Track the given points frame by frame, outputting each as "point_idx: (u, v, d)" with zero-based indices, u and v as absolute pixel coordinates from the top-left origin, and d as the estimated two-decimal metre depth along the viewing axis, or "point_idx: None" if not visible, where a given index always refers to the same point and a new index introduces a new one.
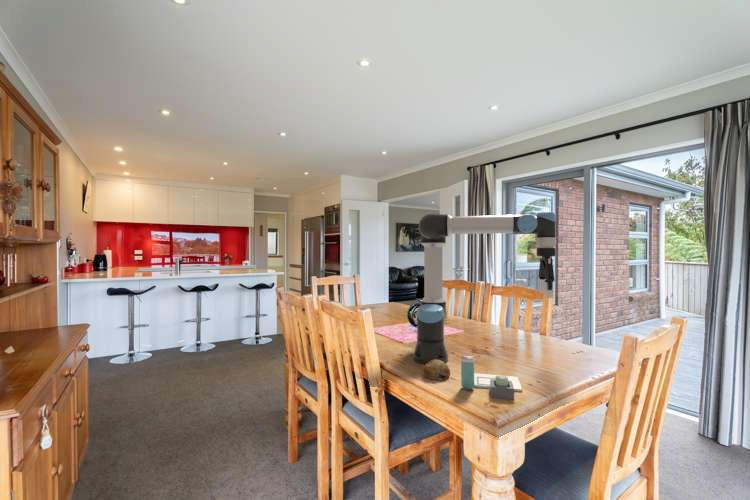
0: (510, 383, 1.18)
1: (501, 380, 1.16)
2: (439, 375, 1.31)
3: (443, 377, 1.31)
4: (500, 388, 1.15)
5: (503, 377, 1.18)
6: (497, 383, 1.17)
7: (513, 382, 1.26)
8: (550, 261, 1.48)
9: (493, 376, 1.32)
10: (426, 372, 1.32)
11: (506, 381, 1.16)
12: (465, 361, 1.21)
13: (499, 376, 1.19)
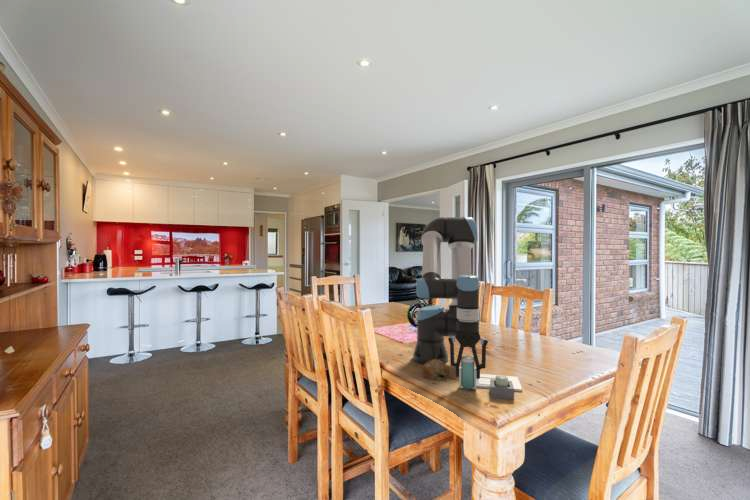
0: (510, 383, 1.18)
1: (501, 380, 1.16)
2: (438, 375, 1.31)
3: (442, 377, 1.31)
4: (500, 388, 1.15)
5: (503, 377, 1.18)
6: (497, 383, 1.17)
7: (513, 382, 1.26)
8: None
9: (493, 376, 1.32)
10: (425, 372, 1.33)
11: (506, 381, 1.16)
12: (465, 361, 1.21)
13: (499, 376, 1.19)
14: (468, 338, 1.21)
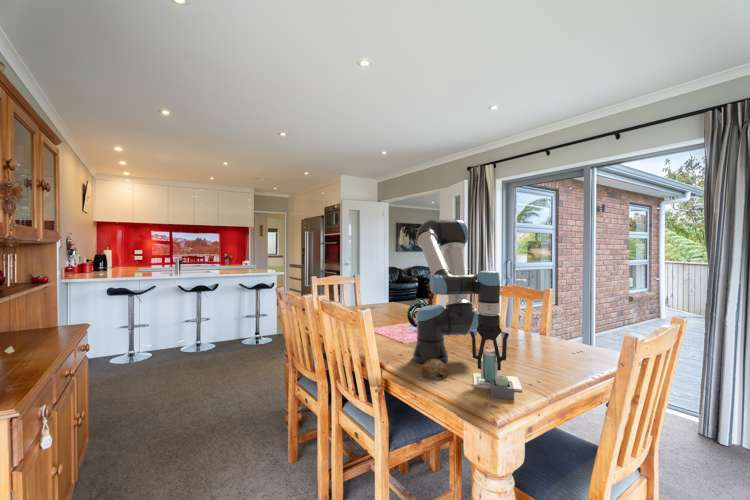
0: (510, 383, 1.18)
1: (501, 380, 1.16)
2: (437, 374, 1.32)
3: (441, 376, 1.32)
4: (500, 388, 1.15)
5: (503, 377, 1.18)
6: (497, 383, 1.17)
7: (513, 382, 1.26)
8: None
9: None
10: (424, 371, 1.33)
11: (506, 381, 1.16)
12: (487, 355, 1.25)
13: (499, 376, 1.19)
14: (489, 331, 1.26)
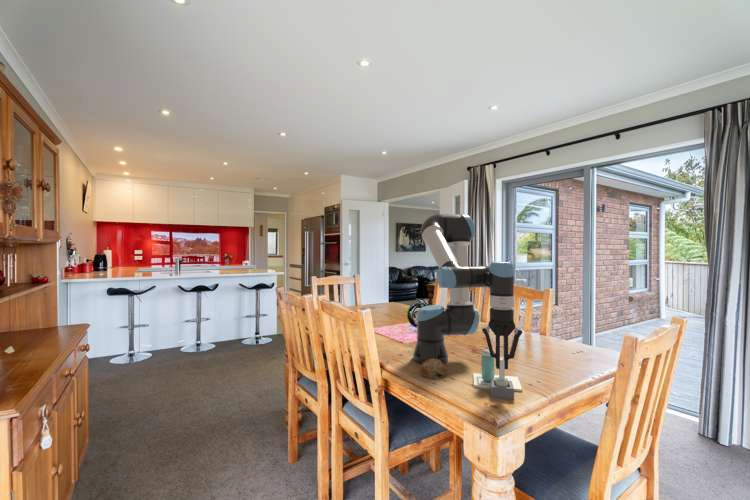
0: (510, 383, 1.18)
1: (501, 381, 1.16)
2: (436, 374, 1.32)
3: (440, 376, 1.32)
4: (500, 388, 1.15)
5: None
6: (497, 384, 1.17)
7: (513, 382, 1.26)
8: (483, 332, 1.19)
9: None
10: (423, 371, 1.34)
11: (506, 382, 1.16)
12: (485, 355, 1.25)
13: None
14: (503, 326, 1.16)
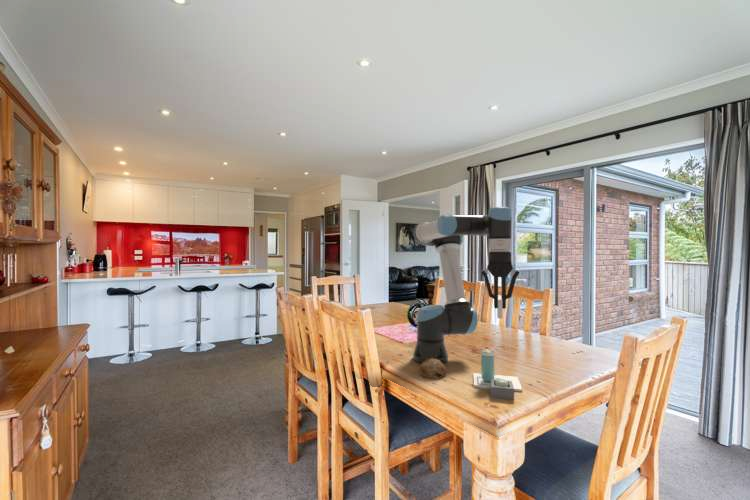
0: (510, 383, 1.18)
1: (501, 384, 1.16)
2: (435, 373, 1.33)
3: (439, 375, 1.33)
4: (500, 388, 1.15)
5: (503, 381, 1.18)
6: None
7: (513, 382, 1.26)
8: None
9: None
10: (422, 371, 1.34)
11: (506, 385, 1.16)
12: (485, 355, 1.25)
13: (499, 380, 1.19)
14: (501, 268, 1.23)
